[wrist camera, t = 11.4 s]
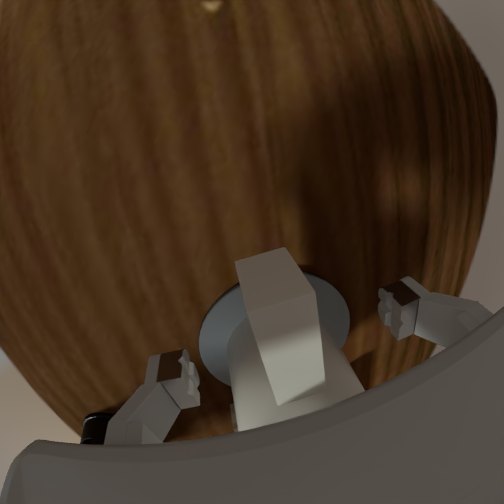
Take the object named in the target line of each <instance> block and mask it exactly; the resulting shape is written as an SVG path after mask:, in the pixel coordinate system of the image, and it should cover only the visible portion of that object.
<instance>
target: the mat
mask: <svg viewBox="0 0 504 504" xmlns="http://www.w3.org/2000/svg"><path fill="white" fill-rule="evenodd" d="M302 273H303V274H304V276H305V277H306V279H307V280H308V282H309V283H310V285H311V286H312V287H313V289H314V290H315V293H316V301H317V308H318V314H319V315H320V316H321V318H322V319H323V321H324V322H325V324H326V326H327V327H328V329H329V330H330V332H331V334H332V335H333V337H334V339H335V340H336V342H337V344H338V345H339V347H340V349H342V347H343V345H344V343H345V341H346V338H347V335H348V332H349V327H350V315H349V310H348V307H347V304H346V302H345V300H344V298H343V297H342V296H341V294H340V293H339V292H338V291H337V289H336V288H335V287H334V286H333V285H331V284H330V283H329V282H327V281H326V280H324V279H323V278H321V277H318V276H316V275H314V274H310V273H306V272H302ZM247 317H248V315H247V311H246V307H245V303H244V299H243V295H242V291H241V287H240V283H239V284H237V285H236V286H234V287H232V288H231V289H229V290H228V291H227V292H225V293H224V294H223V295H222V296H221V297H219V298H218V300H217V301H216V302H215V303H214V304H213V305H212V306H211V308H210V309H209V310H208V312H207V314H206V315H205V317H204V319H203V322H202V325H201V328H200V333H199V351H200V355H201V358H202V361H203V363H204V365H205V366H206V368H207V369H208V371H209V372H210V373H211V374H212V375H213V376H214V377H216V378H217V379H218V380H220V381H221V382H223V383H225V384H227V385H229V386H231V379H230V372H229V365H228V357H227V344H228V341H229V338H230V336H231V334H232V333H233V331H234V330H235V328H236V327H237V326H238V325H239V324H240V323H241V322H242V321H243V320H245V319H246V318H247ZM231 387H232V386H231Z"/></svg>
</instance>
